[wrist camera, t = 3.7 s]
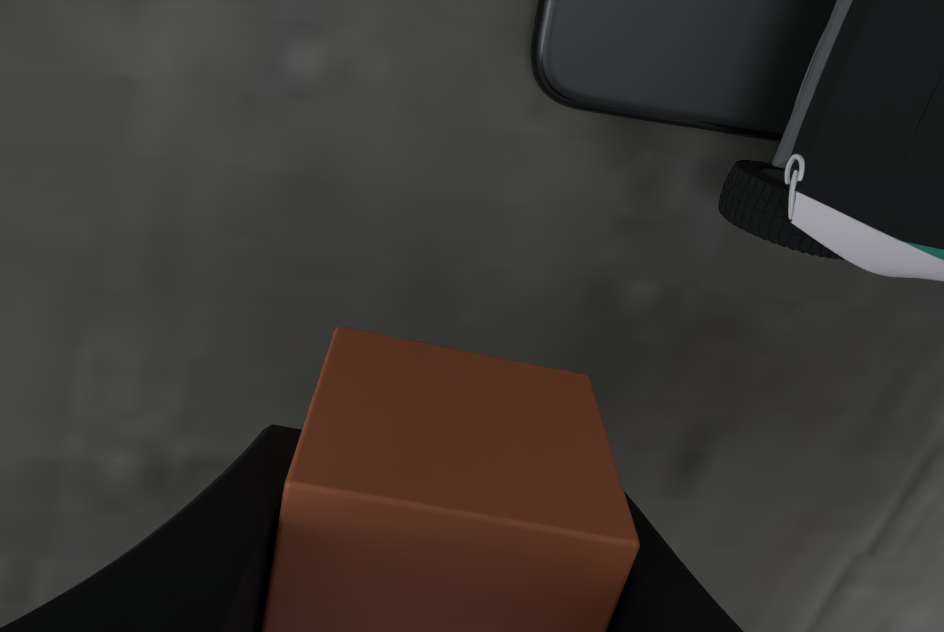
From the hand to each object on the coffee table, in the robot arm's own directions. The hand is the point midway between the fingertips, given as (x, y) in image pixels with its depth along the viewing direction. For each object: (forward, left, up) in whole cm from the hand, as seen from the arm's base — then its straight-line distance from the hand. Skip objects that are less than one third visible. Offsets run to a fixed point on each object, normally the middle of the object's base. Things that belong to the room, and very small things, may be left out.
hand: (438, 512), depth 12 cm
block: (0, 0, -1) cm, 1 cm away
